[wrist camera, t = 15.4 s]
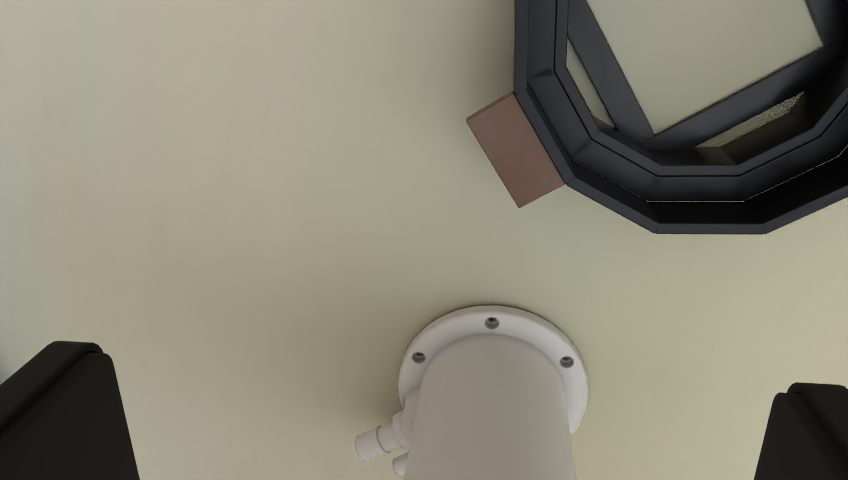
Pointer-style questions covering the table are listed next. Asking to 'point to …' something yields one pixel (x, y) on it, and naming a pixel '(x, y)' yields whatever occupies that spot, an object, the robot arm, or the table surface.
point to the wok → (668, 132)
